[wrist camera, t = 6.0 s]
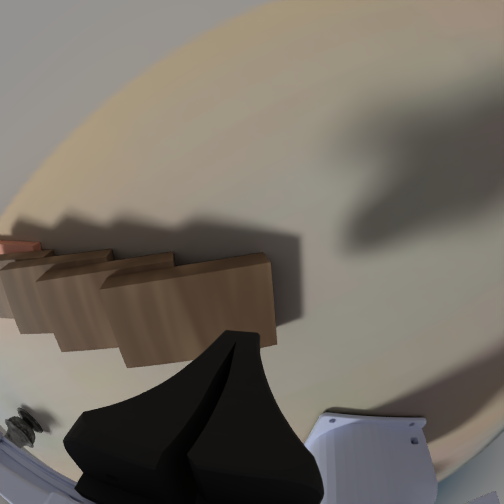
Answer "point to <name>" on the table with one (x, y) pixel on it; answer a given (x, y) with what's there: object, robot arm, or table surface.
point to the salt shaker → (22, 429)
